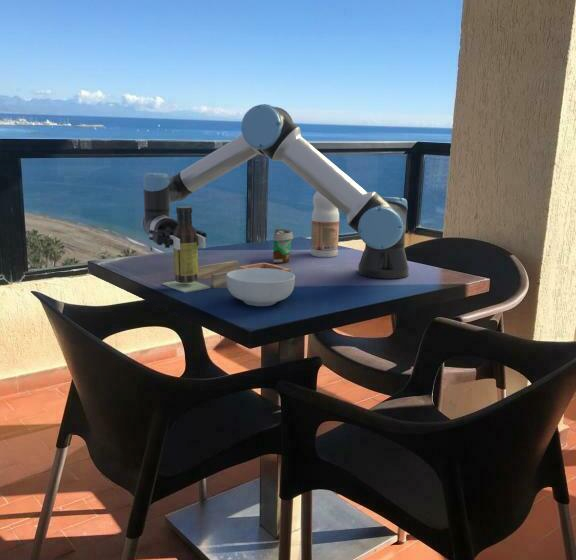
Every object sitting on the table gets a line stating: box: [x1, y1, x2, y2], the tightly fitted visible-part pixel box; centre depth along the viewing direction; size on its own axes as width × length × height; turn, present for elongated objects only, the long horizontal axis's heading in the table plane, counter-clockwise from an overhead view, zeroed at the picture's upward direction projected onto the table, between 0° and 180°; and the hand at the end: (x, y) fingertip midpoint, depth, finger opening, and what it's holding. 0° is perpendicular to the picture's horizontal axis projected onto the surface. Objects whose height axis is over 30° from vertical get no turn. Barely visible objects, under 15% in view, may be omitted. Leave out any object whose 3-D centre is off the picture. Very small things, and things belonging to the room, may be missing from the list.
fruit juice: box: [310, 190, 340, 258], centre depth 205 cm, size 9×9×28 cm
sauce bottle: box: [173, 205, 199, 283], centre depth 158 cm, size 6×6×20 cm
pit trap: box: [238, 262, 292, 273], centre depth 179 cm, size 12×10×2 cm
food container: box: [272, 228, 294, 265], centre depth 194 cm, size 12×6×10 cm, turn 179°
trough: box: [197, 260, 261, 289], centre depth 169 cm, size 12×16×4 cm
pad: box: [162, 280, 211, 293], centre depth 161 cm, size 11×8×1 cm
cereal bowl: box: [226, 268, 296, 307], centre depth 147 cm, size 17×17×7 cm
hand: (191, 243), depth 153 cm, fingers closed on sauce bottle, 6 cm apart
